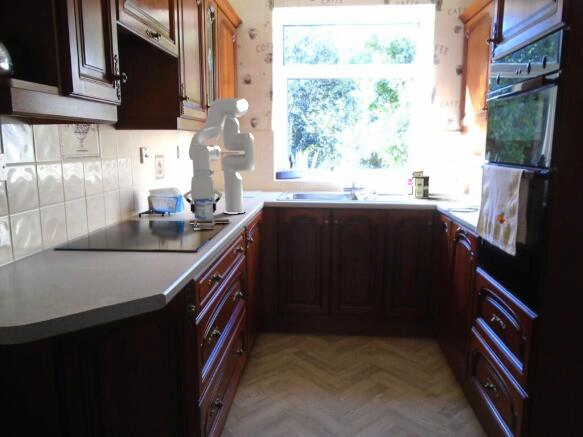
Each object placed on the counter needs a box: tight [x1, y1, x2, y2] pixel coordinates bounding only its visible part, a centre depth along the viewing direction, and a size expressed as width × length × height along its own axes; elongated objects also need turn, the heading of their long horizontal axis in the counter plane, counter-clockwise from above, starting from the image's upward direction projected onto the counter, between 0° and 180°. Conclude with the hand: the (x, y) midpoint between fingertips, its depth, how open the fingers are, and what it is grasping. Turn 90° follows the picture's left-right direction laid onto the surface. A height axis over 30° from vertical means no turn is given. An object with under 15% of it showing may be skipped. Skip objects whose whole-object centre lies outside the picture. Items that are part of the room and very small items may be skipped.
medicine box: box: [193, 199, 214, 220], centre depth 200 cm, size 8×4×9 cm, turn 52°
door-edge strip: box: [189, 218, 230, 224], centre depth 209 cm, size 1×18×2 cm, turn 98°
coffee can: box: [412, 175, 430, 199], centre depth 296 cm, size 10×10×14 cm
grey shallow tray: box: [192, 219, 216, 229], centre depth 201 cm, size 13×9×2 cm
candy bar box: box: [406, 169, 424, 195], centre depth 317 cm, size 11×5×16 cm, turn 126°
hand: (203, 212), depth 200 cm, fingers closed on medicine box, 8 cm apart
